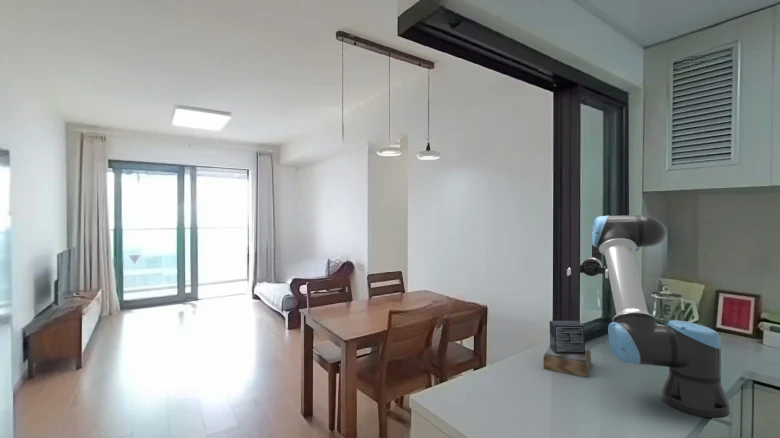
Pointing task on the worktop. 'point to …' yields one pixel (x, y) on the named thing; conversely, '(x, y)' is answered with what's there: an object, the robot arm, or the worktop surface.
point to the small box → (567, 337)
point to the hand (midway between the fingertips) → (586, 273)
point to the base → (568, 362)
